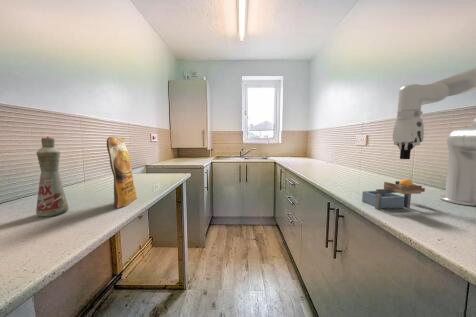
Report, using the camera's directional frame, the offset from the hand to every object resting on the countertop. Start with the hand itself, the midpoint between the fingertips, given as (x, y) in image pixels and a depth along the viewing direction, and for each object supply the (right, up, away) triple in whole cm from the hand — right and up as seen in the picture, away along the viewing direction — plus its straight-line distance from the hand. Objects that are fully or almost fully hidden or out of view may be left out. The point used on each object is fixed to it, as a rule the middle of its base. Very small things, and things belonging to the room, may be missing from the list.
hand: (404, 159), depth 86 cm
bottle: (-139, -20, -13) cm, 141 cm away
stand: (-12, -19, -8) cm, 24 cm away
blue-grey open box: (-12, -19, -3) cm, 23 cm away
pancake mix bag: (-120, -19, 0) cm, 122 cm away
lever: (-8, -13, -7) cm, 16 cm away
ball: (-11, -9, -14) cm, 20 cm away
